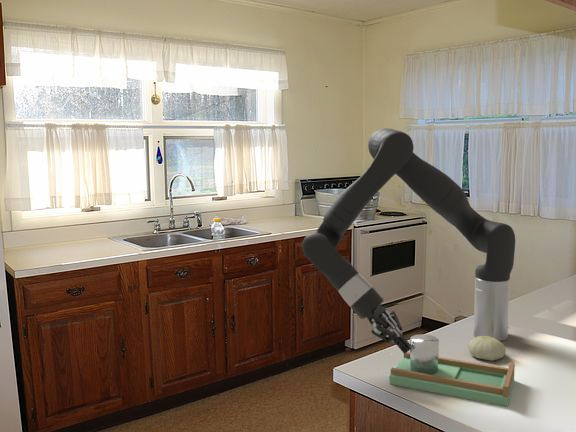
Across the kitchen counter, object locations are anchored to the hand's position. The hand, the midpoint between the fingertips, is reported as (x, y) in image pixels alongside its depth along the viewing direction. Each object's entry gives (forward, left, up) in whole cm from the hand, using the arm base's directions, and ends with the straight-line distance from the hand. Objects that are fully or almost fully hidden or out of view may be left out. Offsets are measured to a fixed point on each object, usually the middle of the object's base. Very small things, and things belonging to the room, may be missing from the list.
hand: (408, 350), depth 133 cm
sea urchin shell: (-20, +15, -6) cm, 26 cm away
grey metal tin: (0, +4, -4) cm, 6 cm away
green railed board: (0, +10, -6) cm, 12 cm away
